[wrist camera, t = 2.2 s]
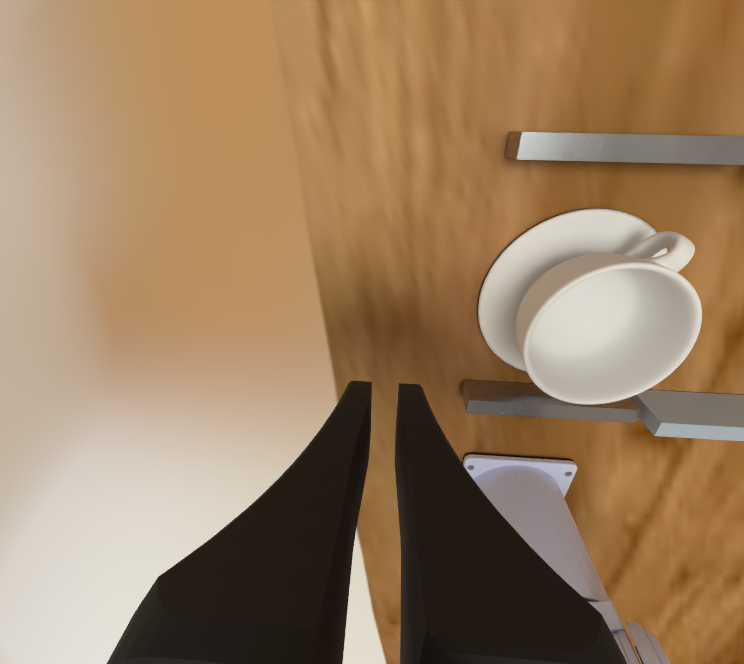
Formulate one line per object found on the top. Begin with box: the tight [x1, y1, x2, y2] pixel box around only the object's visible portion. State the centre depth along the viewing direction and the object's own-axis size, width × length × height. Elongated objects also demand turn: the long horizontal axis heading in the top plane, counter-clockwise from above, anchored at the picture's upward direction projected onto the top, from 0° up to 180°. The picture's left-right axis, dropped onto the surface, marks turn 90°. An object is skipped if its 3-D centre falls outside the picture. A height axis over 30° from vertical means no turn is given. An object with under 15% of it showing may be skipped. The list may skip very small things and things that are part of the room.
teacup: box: [478, 209, 702, 405], centre depth 18 cm, size 10×10×5 cm
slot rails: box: [462, 132, 744, 423], centre depth 19 cm, size 15×10×2 cm, turn 179°
